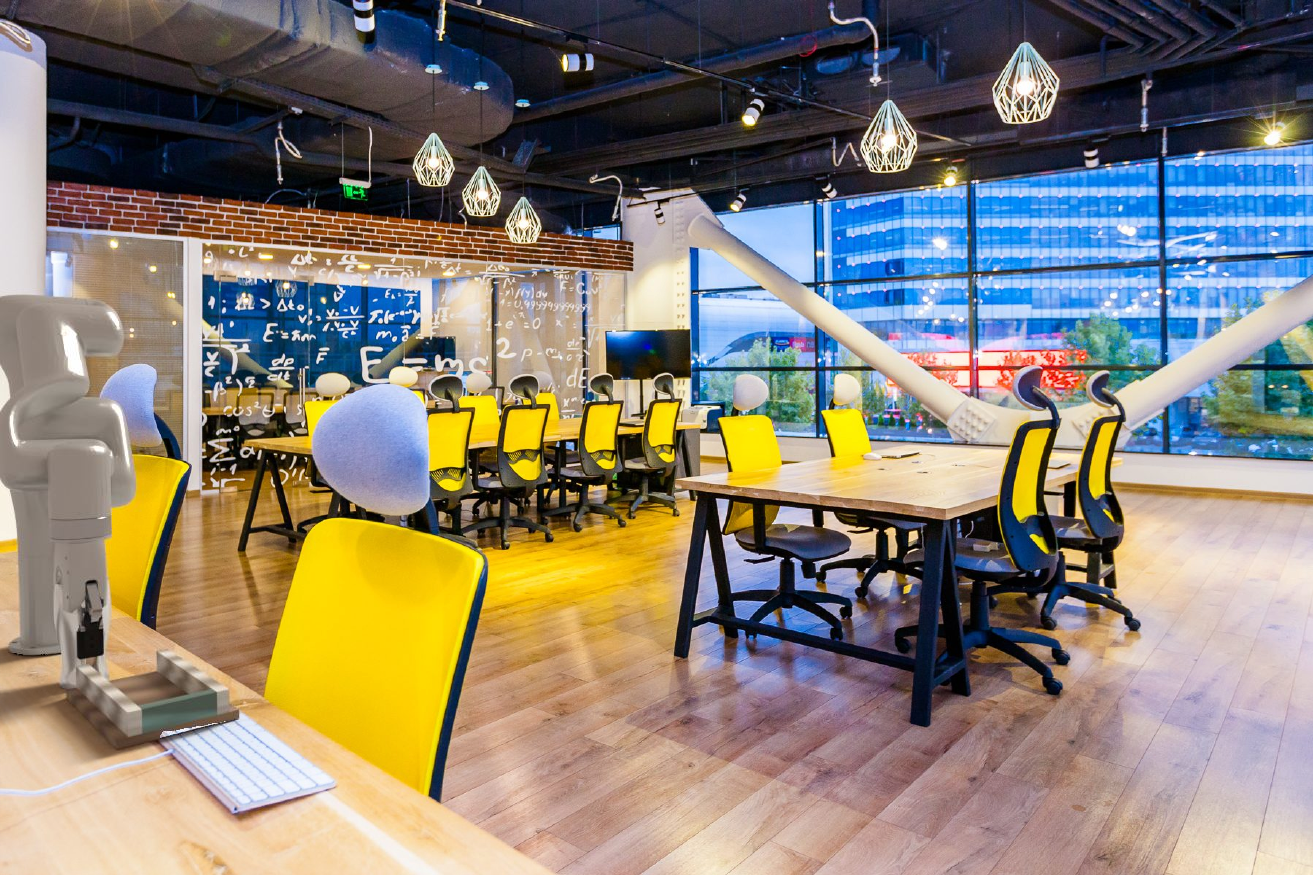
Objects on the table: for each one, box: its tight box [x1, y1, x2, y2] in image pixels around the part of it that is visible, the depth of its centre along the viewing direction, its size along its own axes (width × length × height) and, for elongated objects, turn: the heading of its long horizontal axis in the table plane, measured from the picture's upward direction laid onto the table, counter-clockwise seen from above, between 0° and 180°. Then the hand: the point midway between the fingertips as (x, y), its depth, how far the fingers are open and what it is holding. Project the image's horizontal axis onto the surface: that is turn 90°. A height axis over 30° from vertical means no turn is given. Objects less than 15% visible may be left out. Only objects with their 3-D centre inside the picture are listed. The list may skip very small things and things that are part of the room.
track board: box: [65, 648, 240, 751], centre depth 116 cm, size 24×14×4 cm, turn 46°
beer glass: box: [54, 576, 112, 690], centre depth 126 cm, size 7×7×15 cm
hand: (83, 650), depth 126 cm, fingers closed on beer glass, 6 cm apart
